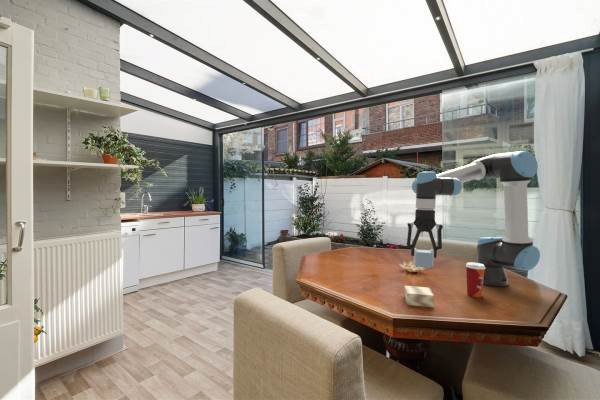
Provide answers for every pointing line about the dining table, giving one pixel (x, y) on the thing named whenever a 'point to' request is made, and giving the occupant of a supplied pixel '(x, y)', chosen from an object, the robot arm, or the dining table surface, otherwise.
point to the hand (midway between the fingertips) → (423, 264)
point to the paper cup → (475, 279)
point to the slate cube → (424, 258)
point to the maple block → (419, 296)
